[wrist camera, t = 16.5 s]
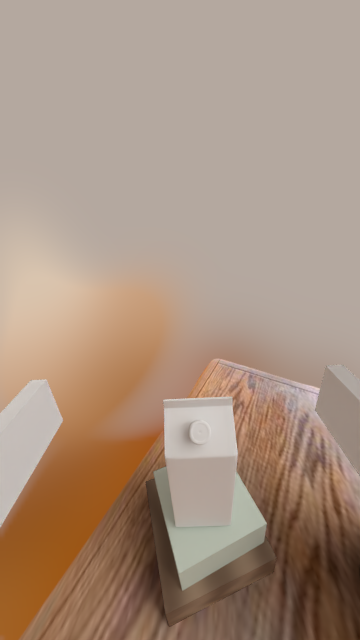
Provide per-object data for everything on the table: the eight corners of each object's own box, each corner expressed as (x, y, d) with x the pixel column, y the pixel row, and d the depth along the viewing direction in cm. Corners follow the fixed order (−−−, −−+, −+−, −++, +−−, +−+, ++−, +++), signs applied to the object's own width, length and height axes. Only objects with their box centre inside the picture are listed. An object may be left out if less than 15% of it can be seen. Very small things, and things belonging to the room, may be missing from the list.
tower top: (220, 461, 41) (219, 443, 39) (263, 542, 31) (266, 523, 28) (157, 489, 38) (153, 471, 36) (182, 590, 27) (178, 573, 25)
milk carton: (176, 469, 35) (165, 376, 26) (221, 467, 35) (226, 373, 26) (175, 527, 29) (160, 431, 20) (231, 526, 29) (240, 428, 20)
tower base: (223, 469, 44) (223, 453, 42) (273, 573, 31) (276, 557, 29) (149, 498, 41) (145, 481, 39) (169, 628, 28) (165, 614, 26)
